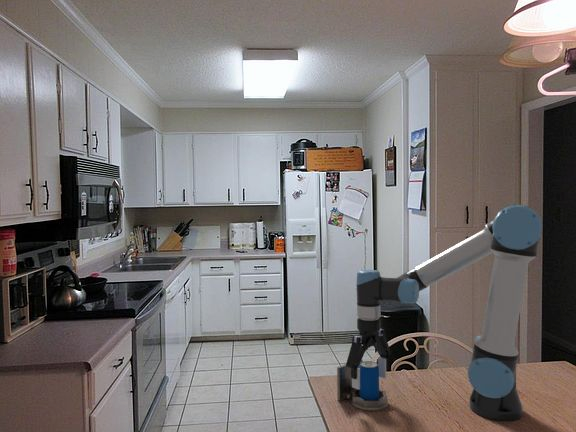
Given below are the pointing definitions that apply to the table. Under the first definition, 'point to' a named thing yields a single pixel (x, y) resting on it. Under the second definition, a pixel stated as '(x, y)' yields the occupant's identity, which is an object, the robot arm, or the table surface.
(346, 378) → the cup bracket
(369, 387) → the beverage can
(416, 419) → the table surface
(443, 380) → the table surface
